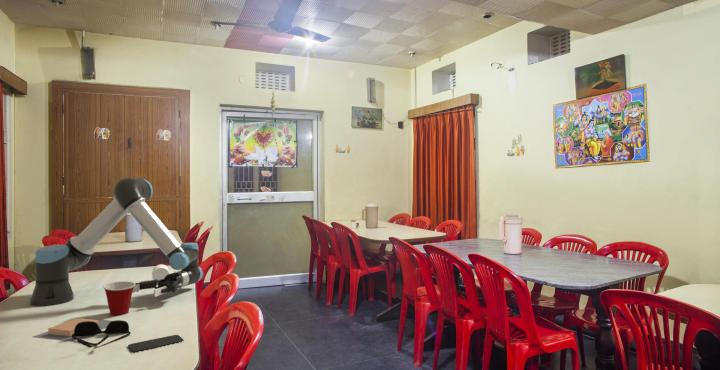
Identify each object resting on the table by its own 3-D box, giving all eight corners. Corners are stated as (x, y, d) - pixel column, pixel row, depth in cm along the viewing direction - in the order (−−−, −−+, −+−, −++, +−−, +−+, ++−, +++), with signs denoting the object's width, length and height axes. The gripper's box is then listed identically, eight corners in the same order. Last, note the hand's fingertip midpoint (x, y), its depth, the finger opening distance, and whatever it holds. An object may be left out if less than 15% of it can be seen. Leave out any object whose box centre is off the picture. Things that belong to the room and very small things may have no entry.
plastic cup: (110, 321, 156) (110, 289, 156) (98, 316, 163) (98, 284, 163) (140, 314, 165) (140, 283, 164) (128, 309, 171) (128, 279, 171)
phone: (184, 340, 136) (132, 351, 127) (184, 343, 136) (132, 354, 127) (177, 334, 142) (127, 344, 133) (177, 336, 142) (127, 347, 133)
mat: (32, 339, 139) (32, 336, 139) (86, 320, 158) (86, 318, 158) (70, 343, 134) (70, 341, 134) (121, 323, 154) (121, 321, 154)
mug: (152, 284, 215) (152, 268, 215) (152, 280, 224) (152, 265, 224) (178, 281, 220) (178, 266, 220) (177, 278, 229) (176, 263, 229)
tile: (78, 324, 151) (48, 335, 140) (78, 318, 151) (48, 328, 140) (98, 326, 149) (69, 337, 138) (98, 320, 149) (69, 330, 138)
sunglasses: (57, 354, 125) (58, 338, 125) (73, 335, 139) (74, 320, 138) (121, 351, 130) (122, 334, 130) (131, 333, 144) (132, 318, 144)
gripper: (200, 290, 190) (166, 303, 170) (153, 287, 197) (115, 299, 176) (199, 273, 190) (166, 284, 170) (152, 271, 197) (115, 281, 176)
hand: (140, 292), depth 173 cm, fingers open, 13 cm apart
